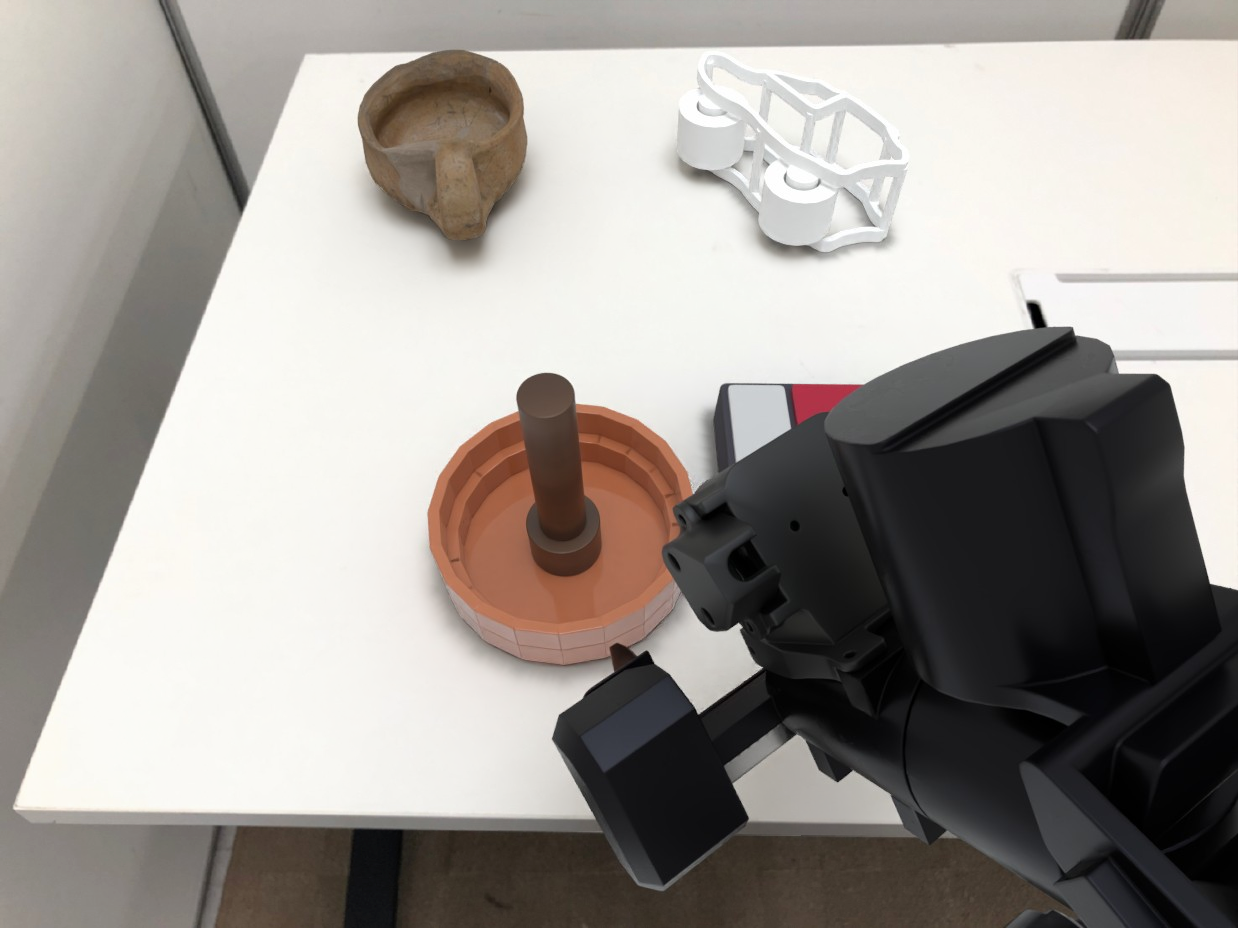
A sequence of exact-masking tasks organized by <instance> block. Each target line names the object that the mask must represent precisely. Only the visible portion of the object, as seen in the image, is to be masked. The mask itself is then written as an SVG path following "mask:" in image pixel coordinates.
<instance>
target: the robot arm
mask: <svg viewBox="0 0 1238 928" xmlns="http://www.w3.org/2000/svg"><path fill="white" fill-rule="evenodd" d="M863 384H864V385H862V386H861V387H859V388H858V389H856V390H855V391H853V392H852V393H850V394H849V395H847V396H846V397H845V398H843V399H842V400H841V401H840V402H839V403H838V404H837V405H836V406H835V407H834V408H833V409H831V410H830V412H821V413H817V414H815V415H813V416H811V417H809V418H808V419H806V420H804V421H803V422H801V423H799V424H798V425H796V426H795V427H793V428H791V429H790V430H788V431H786V432H785V433H783V434H782V435H780V436H778V437H777V438H775V439H773V440H772V441H770V442H769V443H767V444H765V445H764V446H762V447H761V448H759V449H757V450H756V451H754V452H752V453H751V454H749V455H748V456H746V457H744V458H743V459H741V460H739V461H738V462H736V463H735V464H733V465H731V466H730V467H728V468H727V469H725V470H723V471H722V472H720V473H719V472H718V473H717V474H715V475H714V476H712V477H710V478H709V479H707V480H705V481H704V482H702V483H701V484H700V485H699V486H698V487H697V488H696V490H695V491H694V492H693V495H691V496H689V497H688V498H686V499H685V500H683V501H682V502H680V503H678V504H677V505H675V506H674V507H673V514H674V516H675V519H676V520H677V522H678V524H679V526H680V533H679V536H678V537H677V538H675V539H674V540H672V541H671V542H669V543H667V544H666V545H664V546H663V548H662V557H663V561H664V564H665V566H666V567H667V569H668V571H669V572H670V574H671V576H672V577H673V579H674V580H675V582H676V584H677V585H678V587H679V589H680V590H681V593H682V595H683V597H684V599H685V600H686V602H687V603H688V605H689V606H690V608H691V610H692V611H693V613H694V615H695V616H696V618H697V620H698V621H699V622H700V623H701V624H702V625H703V626H704V627H705V628H706V629H707V630H708V631H710V632H714V633H720V632H728V631H729V630H731V629H733V628H734V627H735V626H737V625H738V624H739V625H740V626H741V627H742V628H740V629H739V632H740V634H741V637H742V639H743V641H744V643H745V645H746V649H748V652H749V654H750V657H751V658H752V660H753V662H754V663H755V664H756V665H757V666H758V667H761V668H760V669H759V670H758V671H756V672H754V674H753V675H751V676H750V677H748V678H746V679H745V680H744V681H743V682H741V683H740V684H738V685H736V687H734V688H732V690H730V691H728V693H726V694H725V695H722V697H720V698H719V699H718V700H716V701H715V702H713V703H712V704H711V705H709V706H707V707H706V708H705V709H703V710H702V711H701V712H700V713H698V710H697V708H696V707H695V706H694V704H693V702H692V701H691V700H690V699H689V697H688V696H687V695H686V694H685V692H684V691H683V690H682V688H681V687H680V686H679V685H678V684H679V683H677V682H676V680H675V679H674V678H673V677H672V675H671V674H670V673H669V672H668V671H666V670H665V669H664V668H662V667H660V666H659V665H658V664H656V663H655V661H654V659H653V657H652V655H651V653H650V651H649V650H644V651H643V652H641V653H640V654H639V655H637V654H636V653H635V652H634V651H633V650H632V649H631V648H630V647H629V646H628V647H627V646H624V645H622V644H619V643H615V644H614V645H612V646H610V647H609V650H610V660H611V663H612V664H611V665H612V668H613V672H611V674H609V675H607V676H606V677H604V678H603V679H601V680H600V681H598V682H597V683H596V684H594V685H592V686H591V687H590V688H588V689H587V690H586V692H585V693H584V694H583V697H582V699H579V701H577V702H576V703H574V704H573V705H571V706H570V707H568V708H566V709H565V710H564V711H562V712H561V713H559V714H558V716H557V719H556V723H555V726H554V730H553V733H552V736H551V741H552V742H553V744H554V746H555V748H556V749H557V751H558V753H559V756H560V757H561V759H562V760H563V762H564V764H565V767H566V768H567V770H568V771H569V773H570V775H571V777H572V779H573V780H574V782H575V784H576V786H577V788H578V789H579V792H580V794H581V796H582V797H583V799H584V800H585V802H586V804H587V806H588V808H589V809H590V811H591V813H592V815H593V817H594V818H595V820H596V822H597V824H598V826H599V828H600V829H601V832H602V833H603V835H604V837H605V839H606V840H607V842H608V844H609V846H610V847H611V850H612V851H613V853H614V855H615V857H616V858H617V860H618V862H619V863H620V864H621V865H622V866H623V868H624V870H625V871H626V872H627V873H628V874H629V876H630V877H631V878H632V880H633V881H634V882H635V884H636V885H637V886H638V887H642V888H647V889H650V890H655V891H659V892H664V891H666V890H667V889H668V888H669V887H671V886H672V885H674V883H676V882H677V881H679V880H680V879H681V878H683V876H685V875H686V874H687V873H689V872H690V871H691V870H693V869H694V868H695V867H696V866H697V865H699V864H700V863H701V862H702V861H704V860H705V859H707V858H708V857H709V856H710V855H711V854H713V853H714V852H716V850H718V849H719V848H720V847H721V846H723V845H724V844H725V843H727V842H728V841H729V840H730V839H732V838H733V837H734V836H736V835H737V834H738V833H739V832H740V831H742V830H743V829H745V828H746V826H747V824H748V822H749V820H750V816H749V814H748V812H747V811H746V809H745V807H744V804H743V802H742V800H741V798H740V796H739V794H738V793H737V790H736V788H735V786H734V783H735V782H737V781H738V780H739V779H741V778H742V777H743V776H745V775H746V774H747V773H748V772H750V771H751V770H753V769H754V768H755V767H757V766H758V765H759V764H761V763H762V762H763V761H765V759H767V758H768V757H769V756H771V755H772V754H774V753H776V751H777V750H779V749H780V748H782V746H784V745H785V744H787V743H788V742H789V741H790V740H792V739H793V738H794V737H796V736H798V737H800V738H802V739H803V740H804V741H805V744H806V745H807V747H808V750H809V752H810V754H811V756H812V758H813V760H814V762H815V765H816V768H817V769H818V771H819V772H820V773H823V774H824V775H825V776H827V778H830V779H831V780H832V781H834V782H835V783H837V784H838V783H840V782H841V781H842V780H844V779H845V778H846V777H847V776H848V775H850V774H851V773H852V772H854V773H857V775H860V776H861V777H863V778H864V779H866V780H867V781H869V782H871V783H872V784H873V785H875V786H876V787H878V788H880V789H881V790H883V791H884V792H886V793H887V794H889V795H890V797H891V800H892V803H893V804H894V807H895V809H896V812H897V814H898V817H899V819H900V821H901V823H902V825H903V826H902V827H903V828H904V829H905V830H906V831H908V832H909V833H911V834H912V835H913V836H915V837H917V838H918V839H919V840H920V841H922V842H924V843H925V844H927V845H928V846H931V845H933V843H934V842H936V841H937V840H938V839H939V838H940V837H942V836H943V835H944V834H945V833H947V832H948V833H950V834H952V835H953V836H955V837H956V838H958V839H960V840H961V841H963V842H964V843H966V844H968V845H969V846H970V847H972V848H973V849H976V850H977V851H978V852H980V853H982V854H983V855H985V856H986V857H988V858H989V859H991V860H993V861H994V862H996V863H997V864H999V865H1000V866H1002V867H1003V868H1005V869H1007V870H1008V871H1009V872H1011V873H1013V874H1014V875H1016V876H1017V877H1019V878H1020V879H1022V880H1023V881H1025V882H1027V883H1028V884H1030V885H1032V886H1033V887H1035V888H1036V889H1037V890H1039V891H1041V892H1042V893H1044V894H1045V895H1047V896H1048V897H1050V898H1052V899H1053V900H1055V901H1056V902H1058V903H1060V904H1061V905H1063V906H1064V907H1066V908H1067V909H1069V910H1070V911H1072V912H1074V913H1075V914H1076V916H1077V917H1078V918H1075V917H1071V916H1069V915H1067V914H1065V913H1064V912H1062V911H1060V910H1056V909H1052V908H1050V909H1048V911H1046V912H1043V911H1039V910H1034V909H1030V908H1027V909H1024V910H1023V911H1021V912H1019V913H1018V914H1017V915H1016V916H1014V918H1012V919H1011V920H1010V921H1009V922H1008V923H1006V924H1005V925H1003V927H1002V928H1238V589H1237V588H1236V589H1235V588H1231V587H1228V586H1223V585H1219V584H1214V583H1211V582H1210V581H1211V580H1210V577H1209V574H1208V569H1207V566H1206V561H1205V558H1204V555H1203V550H1202V546H1201V542H1200V539H1199V535H1198V531H1197V527H1196V523H1195V520H1194V519H1195V518H1194V515H1193V512H1192V507H1191V504H1190V500H1189V499H1190V498H1189V496H1188V491H1187V486H1186V481H1185V480H1186V479H1185V452H1186V451H1185V450H1186V449H1185V448H1186V447H1185V441H1184V435H1183V429H1182V425H1181V423H1180V418H1179V414H1178V410H1177V406H1176V401H1175V398H1174V394H1173V390H1172V387H1171V384H1170V383H1169V382H1168V381H1167V380H1166V379H1164V378H1163V377H1162V376H1160V374H1157V373H1120V372H1119V368H1118V365H1117V361H1116V357H1115V354H1114V352H1113V350H1112V347H1111V345H1110V344H1108V343H1106V342H1104V341H1103V340H1101V339H1098V338H1095V337H1088V336H1083V335H1078V334H1077V335H1076V332H1075V329H1074V326H1048V327H1038V328H1029V329H1023V330H1022V329H1021V330H1016V331H1011V332H1006V333H1001V334H995V335H991V336H986V337H983V338H979V339H975V340H971V341H967V342H964V343H960V344H957V345H954V346H951V347H948V348H945V349H941V350H939V351H935V352H933V353H932V352H931V353H930V354H927V355H924V356H922V357H919V358H917V359H914V360H912V361H909V362H907V363H904V364H902V365H900V366H898V367H895V368H894V369H893V368H892V370H889V371H887V372H884V373H883V374H881V375H878V376H877V377H875V378H872V379H871V380H868V381H867V382H866V383H863Z"/></svg>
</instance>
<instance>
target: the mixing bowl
mask: <svg viewBox="0 0 1238 928" xmlns="http://www.w3.org/2000/svg"><path fill="white" fill-rule="evenodd" d="M576 412H577V423H578V434H579V444H580V455H581V466H582V476H583V487H584V495H585V496H586V497H588V498H589V499H590V500H591V501H592V502H593V503H594V504H595V506H596V507H597V509H598V512H599V515H600V526H601V541H602V547H601V552H600V554H599V557H598V559H597V560H596V561H595V563H594V564H593V565H592V566H591V567H590V568H588V569H587V570H585V571H584V572H582V573H580V574H577V575H573V576H557V575H553V574H550V573H548V572H546V571H544V570H543V569H542V568H541V567H540V566H539V565H538V564H537V563H536V562H535V560H534V558H533V556H532V552H531V548H530V543H529V538H528V534H527V529H526V518H527V515H528V512H529V510H530V508H531V507H532V505H533V504H534V503H535V498H534V492H533V487H532V482H531V476H530V471H529V465H528V460H527V455H526V449H525V444H524V438H523V433H522V428H521V422H520V417H519V412H518V410H517V411H515V412H513V413H510V414H508V415H506V416H503V417H501V418H499V419H496V420H494V421H491V422H490V423H488V424H486V425H485V426H484V427H483V428H481V430H479V431H478V432H476V433H475V434H474V435H472V436H471V437H470V438H468V439H467V440H466V441H464V442H463V443H462V444H461V445H460V446H459V447H458V448H457V450H456V451H455V452H454V454H453V455H452V456H451V458H450V459H449V461H448V462H447V464H446V465H445V466H444V468H443V469H442V471H441V472H440V473H439V475H438V477H437V479H436V482H435V485H434V490H433V493H432V496H431V500H430V502H429V506H428V509H427V527H428V529H427V530H428V544H429V545H428V547H429V551H430V553H431V556H432V558H433V560H434V562H435V564H436V567H437V569H438V573H439V574H440V577H441V580H442V582H443V584H444V586H445V588H446V590H447V593H448V595H449V597H450V599H451V601H452V603H453V606H454V609H455V610H456V612H457V614H458V615H459V617H460V618H461V619H462V620H463V621H464V622H465V623H466V624H467V625H468V626H469V627H470V628H471V629H472V630H473V631H474V632H475V633H476V634H477V635H478V636H479V637H480V638H481V639H482V640H483V641H485V643H488V644H490V645H491V646H493V647H495V648H498V649H500V650H502V651H504V652H507V654H508V653H509V654H510V655H512V656H515V657H517V658H519V659H522V660H525V661H530V662H531V661H532V662H538V663H539V662H540V663H548V664H555V665H562V666H563V665H565V666H566V665H572V664H576V663H583V662H589V661H593V660H599V659H605V658H608V657H611V655H610V650H609V647H610V646H612V645H614V644H615V643H619V644H622V645H624V646H627V647H628V648H629V647H630V646H632V645H634V644H637V643H638V642H640V641H642V640H643V639H645V638H646V637H647V636H648V635H649V634H650V633H651V632H652V631H653V630H654V629H655V628H656V627H657V626H658V625H659V624H660V623H661V622H662V621H663V619H665V618H666V617H667V616H668V615H669V613H671V612H672V610H673V608H674V607H675V605H676V603H677V601H678V598H679V597H680V594H681V593H682V592H681V590H680V589H679V587H678V585H677V584H676V582H675V580H674V579H673V577H672V576H671V574H670V572H669V571H668V569H667V567H666V566H665V564H664V561H663V557H662V548H663V546H664V545H666V544H667V543H669V542H671V541H672V540H674V539H675V538H677V537H678V536H679V533H680V526H679V524H678V522H677V520H676V519H675V516H674V514H673V507H674V506H675V505H677V504H678V503H680V502H682V501H683V500H685V499H686V498H688V497H689V496H691V495H693V494H694V492H693V488H692V484H691V480H690V477H689V472H688V471H687V469H686V468H685V465H683V463H682V462H681V460H680V459H679V458H678V456H677V454H676V453H675V452H674V450H673V448H671V446H670V444H669V442H667V440H665V439H664V438H663V437H661V436H660V435H659V434H657V432H655V431H654V430H652V429H651V428H649V427H648V426H647V425H646V424H644V423H643V422H642V421H640V420H639V419H637V418H635V417H632V416H630V415H626V414H624V413H622V412H619V411H616V410H614V409H611V408H609V407H607V406H602V405H593V404H583V403H576Z"/></svg>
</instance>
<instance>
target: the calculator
mask: <svg viewBox="0 0 1238 928" xmlns="http://www.w3.org/2000/svg"><path fill="white" fill-rule="evenodd" d="M864 384H865V383H863V384H858V383H857V384H855V383H853V384H852V383H851V384H850V383H849V384H848V383H767V382H766V383H765V382H764V383H763V382H761V383H759V382H758V383H757V382H756V383H754V382H748V383H747V382H725V383H722V384H721V385H720V387H719V389H718V395H717V401H716V405H715V409H714V414H713V427H714V429H713V430H714V440H715V448H716V449H715V450H716V459H717V469H718V473H720V472H722V471H723V470H725V469H727V468H728V467H730V466H731V465H733V464H735V463H736V462H738V461H739V460H741V459H743V458H744V457H746V456H748V455H749V454H751V453H752V452H754V451H756V450H757V449H759V448H761V447H762V446H764V445H765V444H767V443H769V442H770V441H772V440H773V439H775V438H777V437H778V436H780V435H782V434H783V433H785V432H786V431H788V430H790V429H791V428H793V427H795V426H796V425H798V424H799V423H801V422H803V421H804V420H806V419H808V418H809V417H811V416H813V415H815V414H817V413H821V412H830V410H831V409H833V408H834V407H835V406H836V405H837V404H838V403H839V402H840V401H841V400H842V399H843V398H845V397H846V396H847V395H849V394H850V393H852V392H853V391H855V390H856V389H858V388H859V387H861V386H862V385H864Z"/></svg>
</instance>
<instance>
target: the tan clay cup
mask: <svg viewBox="0 0 1238 928" xmlns="http://www.w3.org/2000/svg"><path fill="white" fill-rule="evenodd" d="M524 105H525V103H524V96H523V93H522V91H521V88H520V87H519V84H518V81H517V79H516V77H514V75H513V74H512V72H511V71H510V70H509V68H508V67H506V66H505V65H504V64H503V63H501V62H499V61H498V60H496V59H494V58H491V57H488V56H485V55H482V54H480V53H476V52H474V51H473V52H472V51H469V50H466V49H445V50H439V51H434V52H430V53H428V54H426V55H422V56H420V57H418V58H415V59H414V60H410V61H407V62H406V63H400V64H397V65H395V66H393V67H391V68H390V69H389V70H386V72H385V73H384V74H382V75H381V77H379V78H378V79H377V80H376V81H374V82H373V83H372V85H370V87H369V88H368V89H367V91H366V92H365V93H364V95H363V98H362V100H361V103H360V104H359V107H358V112H357V128H358V130H359V131H358V132H359V135H360V138H361V141H362V148H363V155H364V160H365V164H366V167H367V170H368V171H369V175H370V176H371V179H372V181H373V182H374V183H375V184H376V185H377V186H378V187H379V188H380V189H381V190H382V191H383V192H384V193H385V194H386V195H387V196H389V197H390V198H391V199H393V200H395V202H397V203H399V204H400V205H402V206H404V207H406V208H407V209H409V210H410V211H412V212H419V213H423V214H425V215H426V216H429V217H430V219H431V220H432V221H433V222H434V223H435V224H436V225H437V227H438V228H439V230H441V232H442V233H443V235H444V237H445V238H447V239H448V240H451V241H452V240H454V241H466V240H471V239H475V238H477V237H480V236H481V235H482V234H483V233H484V232H485V231H486V226H487V221H488V217H489V215H490V213H491V212H492V209H493V208H494V205H495V204H497V203H498V202H499V200H500V199H501V198H503V195H504V194H505V193H506V192H508V191H509V190H510V189H511V187H512V186H513V184H514V183H515V182H516V180H517V179H518V176H519V175H520V174H521V173H522V170H523V168H524V163H525V161H526V157H527V149H528V133H527V128H526V124H525V118H524V114H525V106H524Z"/></svg>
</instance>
